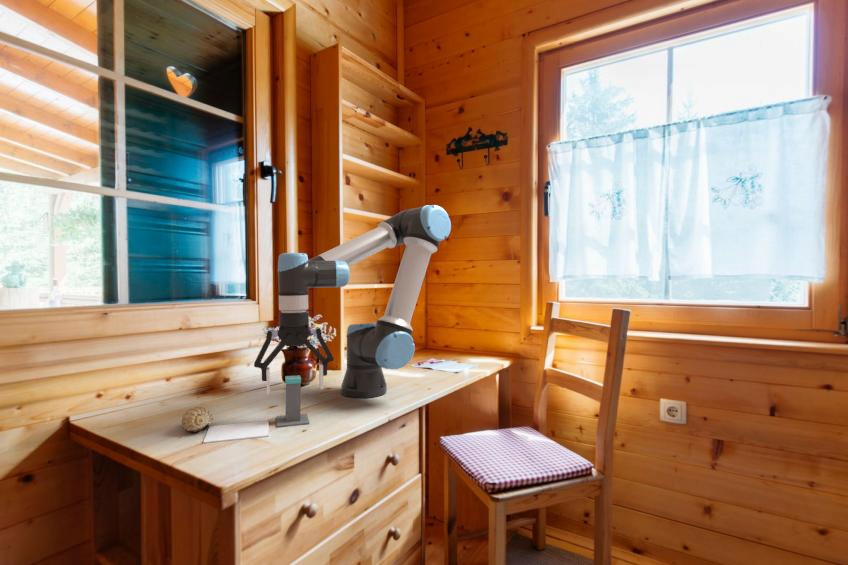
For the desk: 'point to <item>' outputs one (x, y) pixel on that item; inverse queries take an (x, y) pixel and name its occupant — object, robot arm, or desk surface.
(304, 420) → the coaster
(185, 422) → the seashell
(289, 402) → the marker
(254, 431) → the paper
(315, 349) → the robot arm
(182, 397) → the desk surface
